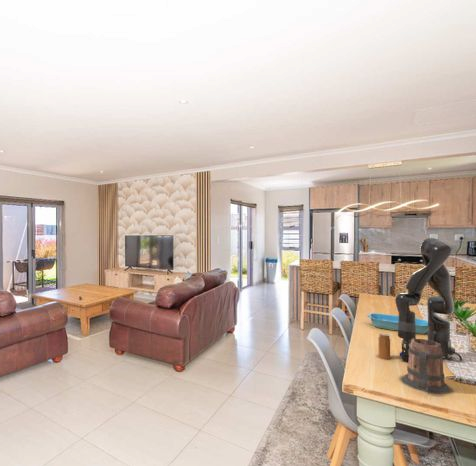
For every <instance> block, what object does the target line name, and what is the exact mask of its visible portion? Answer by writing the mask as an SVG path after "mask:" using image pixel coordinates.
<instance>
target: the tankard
mask: <svg viewBox="0 0 476 466" xmlns="http://www.w3.org/2000/svg"><path fill="white" fill-rule="evenodd" d="M407 363H408V364H407V367H406V368H407V369H406V371H407V373H406V374H405V375H404V376H402V377H401V381H402V382H403V383H404V384H406V385H407V386H410V387H411V388H413V389H417V390H418V391H419V390H420V391H423V392H427V393H433V394H449V393H451V392H452V391H451V390H452V389H451V388H450V387H449V386H448V384H447V383H446V382H445V372H444V358H443V352H442V349H441V344H440V343H437V342H434V341H431V340H428V339H425V338H416V339H411V343H410V346H409V359H408V362H407Z"/></svg>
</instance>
